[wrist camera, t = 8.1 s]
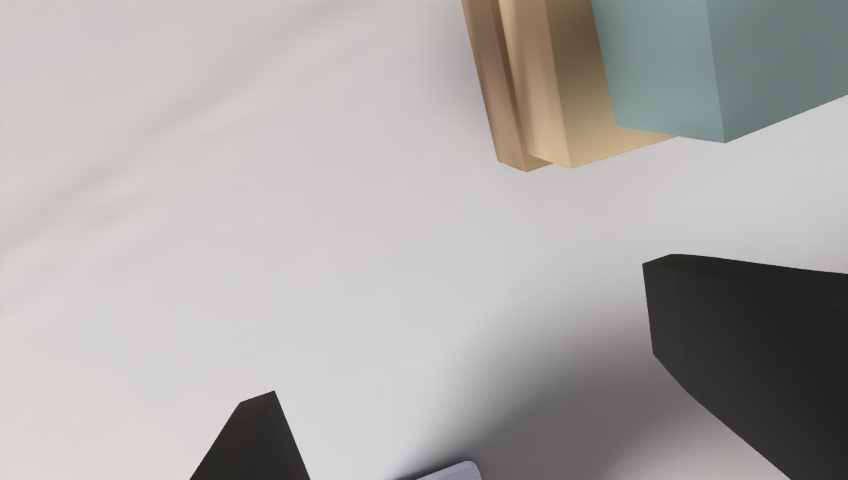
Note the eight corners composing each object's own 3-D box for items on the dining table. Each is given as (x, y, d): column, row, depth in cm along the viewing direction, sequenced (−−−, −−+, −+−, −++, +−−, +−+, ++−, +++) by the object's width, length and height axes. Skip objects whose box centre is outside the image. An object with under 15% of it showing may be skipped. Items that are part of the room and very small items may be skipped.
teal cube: (744, 77, 16) (890, 78, 12) (616, 126, 15) (725, 143, 11) (726, -80, 14) (882, -135, 11) (584, -32, 14) (695, -72, 10)
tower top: (692, 105, 19) (764, 110, 16) (526, 154, 18) (570, 168, 15) (676, -96, 17) (754, -130, 14) (489, -53, 16) (532, -79, 13)
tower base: (661, 105, 22) (717, 109, 19) (493, 159, 21) (526, 172, 18) (636, -96, 20) (694, -124, 17) (446, -45, 19) (475, -66, 16)
